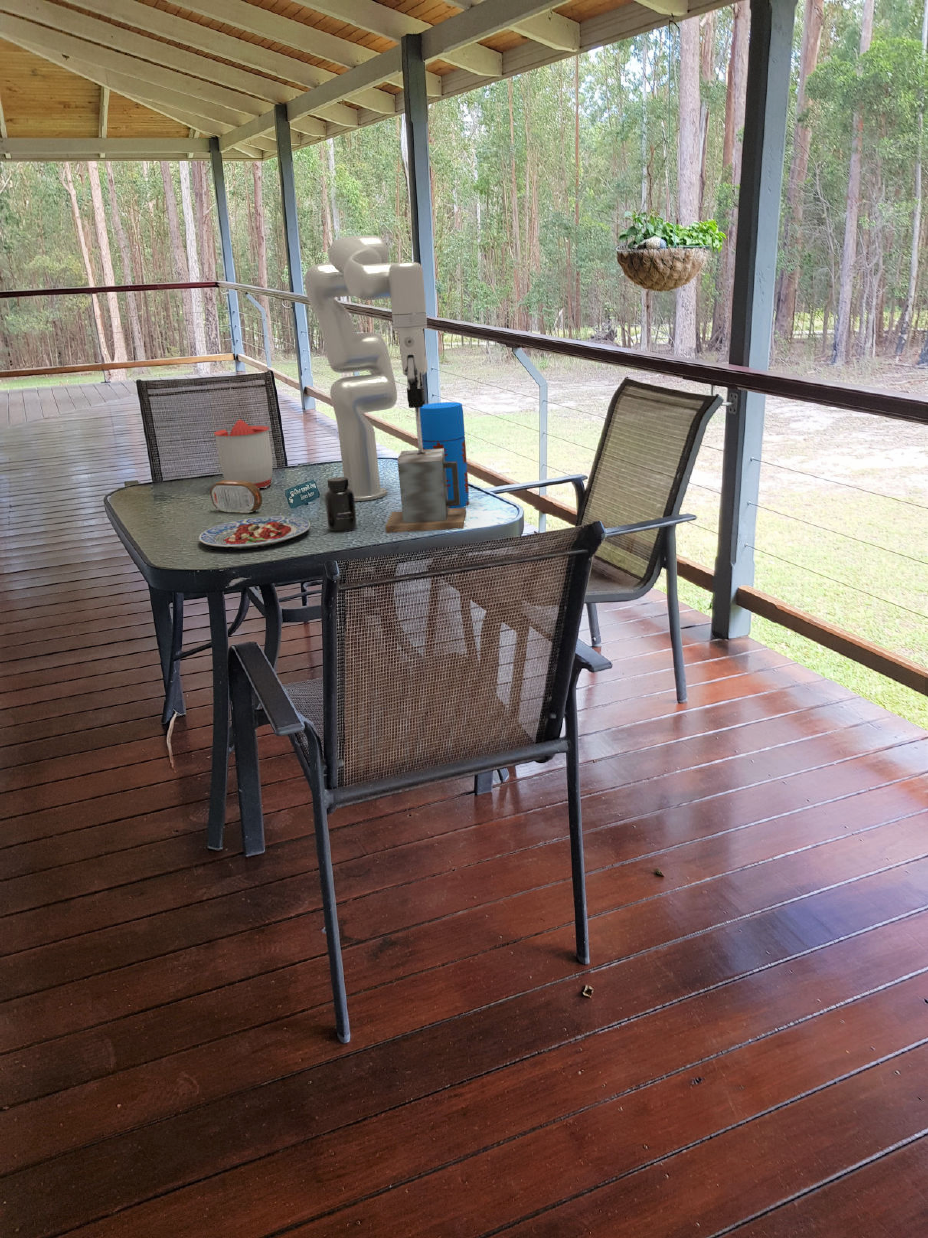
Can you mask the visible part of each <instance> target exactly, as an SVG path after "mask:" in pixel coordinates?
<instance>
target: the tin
mask: <svg viewBox="0 0 928 1238" xmlns="http://www.w3.org/2000/svg"><path fill="white" fill-rule="evenodd" d="M209 493H210V494H209V495H210V498H211V502H212V504H213V506H214V507H215V508H216V509H217V508H225V509H229V510H230V509H231V510H238V511H255V512H257V511H258V510H259V509H260V508H261V507H262V504H263V496H262V493H261V491H260V489H258V488H257V486H256V485H254V484H253V483H251V482H249V481H234V480H225V479H222V480H219V481H218V482H217V483H214V485H212V486H211V489H210V492H209ZM256 510H257V511H256Z"/></svg>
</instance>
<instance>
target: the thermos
mask: <svg viewBox="0 0 928 1238" xmlns="http://www.w3.org/2000/svg"><path fill="white" fill-rule="evenodd" d="M419 409H420V421H421V433H422V445H423V450H427V449H443V448H444V455H445V462H451V461H452V462H456V461H457V469H458V482H459V496H460V505H459V506H449V509H450V508H462V507H463V508H465V507H464V506H466V505H467V506H468V505H470V503H469V502H470V500H469V496H470V495H469V494H470V493H469V492H470V491H469V490H470V489H469V478H468V477H469V476H468V463H467V462H468V461H467V447H466V445H467V444H466V436H465V435H466V434H465V433H466V432H465V421H464V417H465V416H464V410H463V409H464V408H463V404H462V403H461V402H457V401H455V402H454V401H449V402H448V401H446V402H445V401H443V402H432V403H426V404H423V407H419ZM446 481H447V494H448V500H453V499H454V492H453V479H452V468H446ZM467 506H466V507H467Z"/></svg>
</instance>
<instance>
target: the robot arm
mask: <svg viewBox="0 0 928 1238" xmlns="http://www.w3.org/2000/svg"><path fill="white" fill-rule="evenodd" d="M327 254H328V255H327V256H328V261H329V262H322V263H317V264H314V265H312V266H310V267H309V268H308V269H307V270H306V272H305V276H304V287H305V293H306V297H307V300H308V302H309V305H310V307H311V309H312V311H313V313H314V315H315V317H316V318H317V321H318V324H319V328H320V332H321V336H322V341H323V345H324V350H325V354H326V358H327V361H328V364H329V366H330V369H331V370H332V371H333V372H335V373H338V374H345V373H346V374H347V373H356V372H365V371H369V373H370V374H364V375H363V374H361V375H353V376H347V377H346V376H345V377H342V378H338V379H337V380H336V381H334V382H333V383H332V384H331V386H330V394H329V396H330V401H331V404H332V407H333V411H334V415H335V419H336V425H337V430H338V431H337V432H338V439H339V447H340V448H339V449H340V457H341V466H342V473H343V474H342V475H343V477H345V478H348V483H349V486H348V488H349V489H351V490H352V491H353V493H354V501H355V502H365V501H366V502H367V501H373V500H377V499H380V498H383V497H385V496H386V495H387V494H388V493H387V492H388V491H387V489H386V488H384V487H381V483H380V482H381V481H380V473H379V461H378V453H377V451H378V450H377V441H376V434H375V432H376V431H375V429H374V426H373V424H372V423H371V422H370V421H369V420H368V418H367V417H366V416H365V415H364V414H366V413H371V412H372V413H373V412H379V411H384V410H389V409H392V408H393V407H394V406H395V405H396V403H397V402H398V401H397V400H398V392H397V390H398V389H397V385H396V380H395V375H394V372H393V367H392V364H391V363H392V362H391V358H390V354H389V351H388V350H389V349H388V346H387V344H386V342H385V340H384V338H383V337H382V336H381V335H380V334H379V333H376V332H362V333H360V332H359V333H357V332H356V331H355V328H354V322H353V318H352V316H351V313H350V312H349V311H348V310H347V309H346V308H345V306H344V305H343V304H342V303H340V301H338V300H336V298H343V297H356V298H357V299H359V300H363V301H375V300H376V301H377V300H378V301H379V300H390V304H391V305H390V306H391V308H390V309H391V316H392V327H393V328H392V330H393V331H398V340H399V348H400V349H399V350H400V358H401V359H400V361H401V366H402V374H403V375H404V376H405V377H406V381H407V383H406V384H407V388H408V390H407V389H406V393H407V392H408V398H407V402H408V408H409V409H415V408H418V407H423V405H425V402H426V400H425V401H423V398H422V389H420V386H422V387H424V388H425V386H423V384H424V383H423V376H424V375H425V374H426V373H427V372H428V370H429V369H428V359H427V349H426V340H425V333H424V329H427V328H428V321H427V320H428V319H427V310H426V309H427V307H426V296H425V295H426V294H425V285H424V272H423V267H422V265H421V263H419V262H415V261H413V262H409V261H408V262H389V257H390V253H389V248H388V246H387V244H386V242H385V241H384V240H383V238H381V237H380V236H378V235H373V234H372V235H367V234H366V235H353V236H352V235H350V236H343V237H340V238H339V237H338V238H337V239H335V240H334V241H333V242H332V243H331V244H330V246H329V248H328V252H327Z"/></svg>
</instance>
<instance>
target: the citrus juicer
mask: <svg viewBox="0 0 928 1238" xmlns="http://www.w3.org/2000/svg"><path fill="white" fill-rule="evenodd" d="M269 429H270V427H269V426H266V425H264V426H263V425H250V426H249V425H248V423H246V422H245V421H243V420H242V419H238V420H237V422H236V423H235V424H234V425H233V427H232V428H231V431H230V433H229V432H228V431H227V430H226V429H220V430H217V431H215V432H213V434H214V436H215V441H216V448H217V456H218V461H219V465H220V471H221V473H222V477H223V480H234V481H249V482H251V483H253V484H254V485H256V486H257V488H261V487H265V486H267V485H271V482H272V478H273V477H272V476H273V468H274V467H273V466H274V465H273V454H272V446H271V440H270V433H269V432H270V431H269Z"/></svg>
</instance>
